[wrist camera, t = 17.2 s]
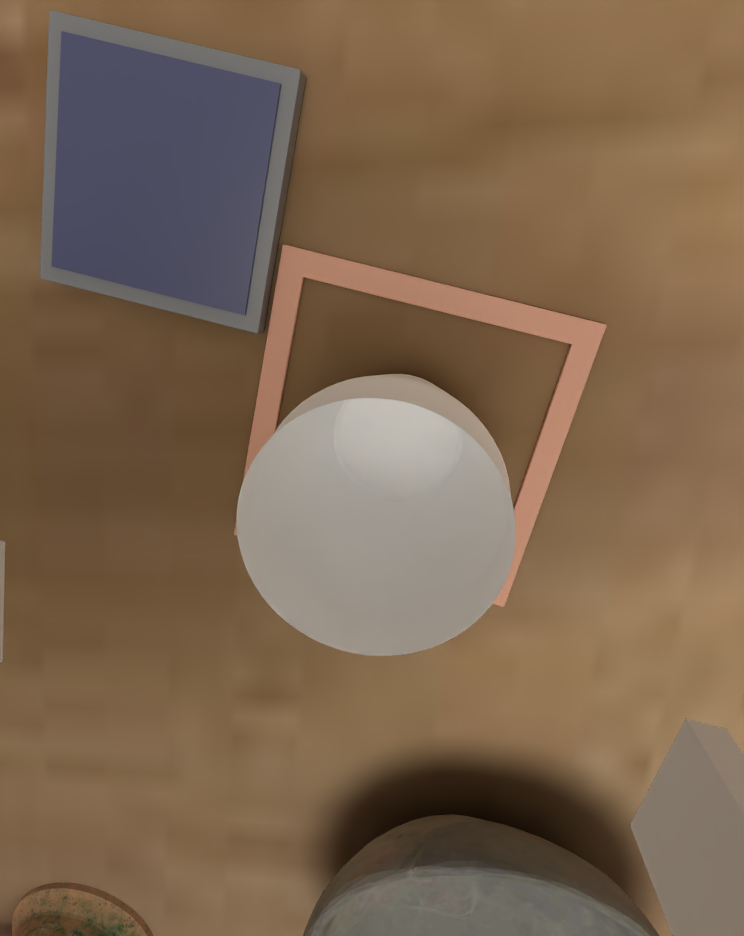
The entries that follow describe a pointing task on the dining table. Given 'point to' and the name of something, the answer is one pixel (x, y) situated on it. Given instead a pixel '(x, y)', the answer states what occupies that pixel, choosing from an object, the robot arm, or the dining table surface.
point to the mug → (75, 913)
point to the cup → (378, 517)
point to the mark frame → (449, 300)
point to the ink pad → (165, 170)
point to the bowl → (471, 887)
